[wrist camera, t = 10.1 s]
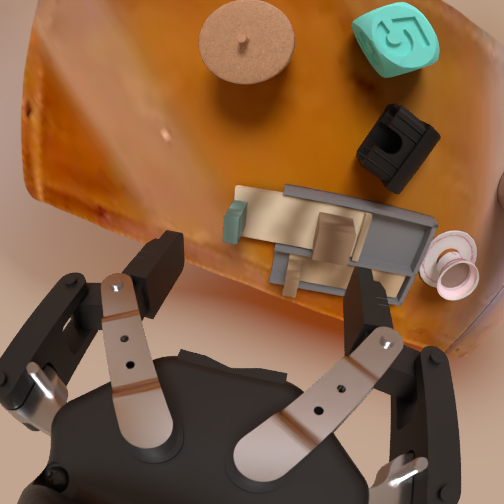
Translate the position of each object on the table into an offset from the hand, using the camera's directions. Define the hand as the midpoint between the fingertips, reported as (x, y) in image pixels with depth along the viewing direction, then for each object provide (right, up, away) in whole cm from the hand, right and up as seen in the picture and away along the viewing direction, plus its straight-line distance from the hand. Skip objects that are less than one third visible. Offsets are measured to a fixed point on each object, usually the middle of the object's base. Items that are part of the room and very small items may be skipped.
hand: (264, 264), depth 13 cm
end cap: (+19, +16, +22) cm, 33 cm away
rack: (+15, +1, +32) cm, 36 cm away
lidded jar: (0, +28, +19) cm, 33 cm away
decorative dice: (+17, +28, +15) cm, 36 cm away
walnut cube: (+11, +4, +29) cm, 32 cm away
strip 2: (+15, -3, +35) cm, 38 cm away
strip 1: (+7, +6, +31) cm, 33 cm away
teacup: (+34, -1, +30) cm, 45 cm away
